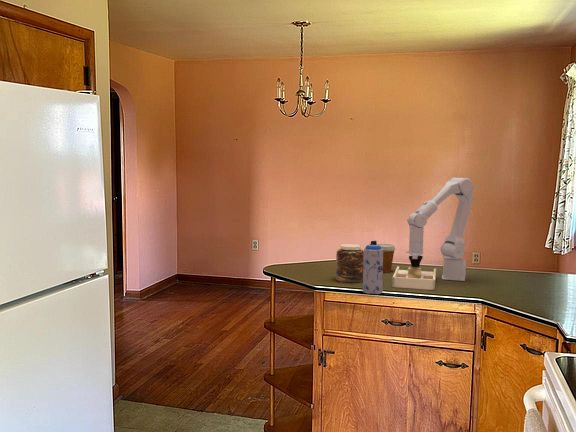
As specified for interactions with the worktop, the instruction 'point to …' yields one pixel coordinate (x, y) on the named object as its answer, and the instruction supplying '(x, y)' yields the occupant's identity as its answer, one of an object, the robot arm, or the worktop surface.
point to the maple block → (414, 272)
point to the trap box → (414, 280)
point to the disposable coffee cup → (387, 256)
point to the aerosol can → (373, 269)
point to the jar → (349, 263)
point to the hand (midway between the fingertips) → (415, 272)
